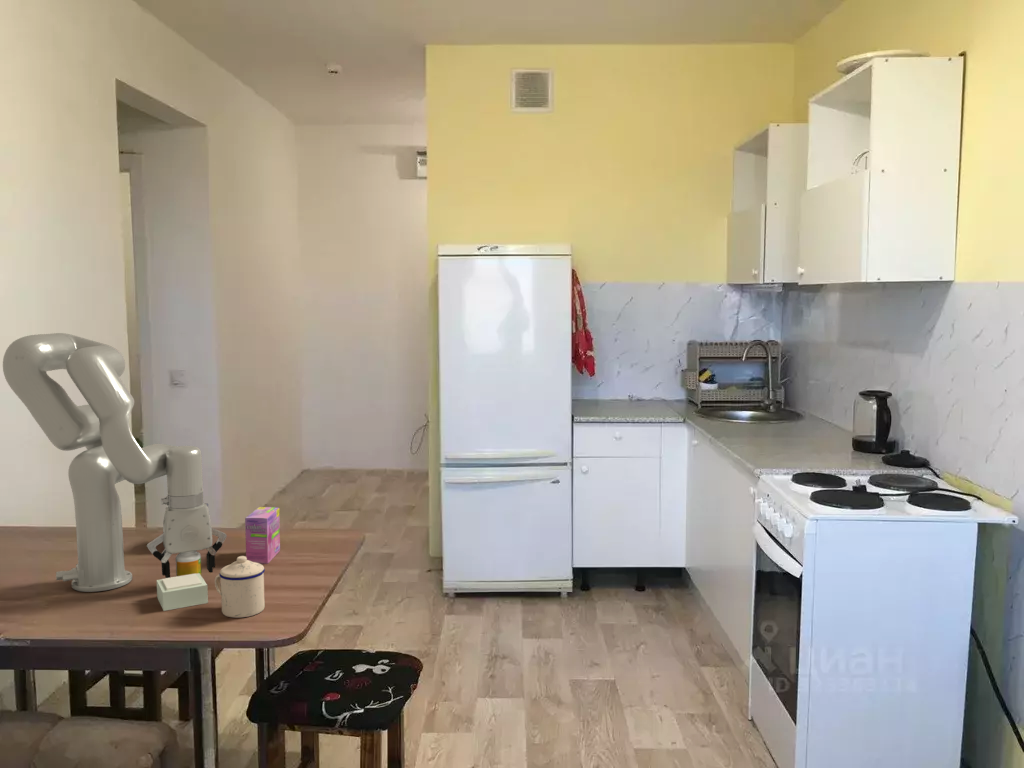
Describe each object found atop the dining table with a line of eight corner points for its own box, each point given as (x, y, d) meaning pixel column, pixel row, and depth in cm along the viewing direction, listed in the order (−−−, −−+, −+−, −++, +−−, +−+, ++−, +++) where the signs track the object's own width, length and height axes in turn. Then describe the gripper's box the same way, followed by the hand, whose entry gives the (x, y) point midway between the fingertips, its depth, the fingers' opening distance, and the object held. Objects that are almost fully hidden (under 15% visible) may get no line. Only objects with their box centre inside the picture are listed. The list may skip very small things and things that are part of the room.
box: (268, 564, 206) (267, 517, 205) (245, 564, 206) (244, 517, 205) (281, 551, 216) (279, 507, 215) (259, 551, 216) (257, 506, 215)
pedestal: (163, 610, 175) (162, 590, 175) (157, 597, 183) (156, 578, 182) (208, 602, 180) (207, 583, 179) (200, 590, 187) (199, 571, 187)
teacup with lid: (275, 606, 178) (273, 553, 176) (244, 621, 170) (242, 566, 168) (232, 598, 183) (230, 546, 182) (200, 612, 175) (198, 558, 173)
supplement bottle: (204, 587, 190) (202, 545, 189) (178, 591, 187) (177, 549, 186) (199, 580, 194) (197, 539, 193) (175, 584, 192) (173, 543, 190)
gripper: (146, 509, 181) (150, 586, 183) (228, 499, 190) (231, 572, 192) (142, 502, 187) (145, 576, 189) (221, 492, 196) (224, 563, 198)
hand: (189, 574), depth 190 cm, fingers open, 8 cm apart
